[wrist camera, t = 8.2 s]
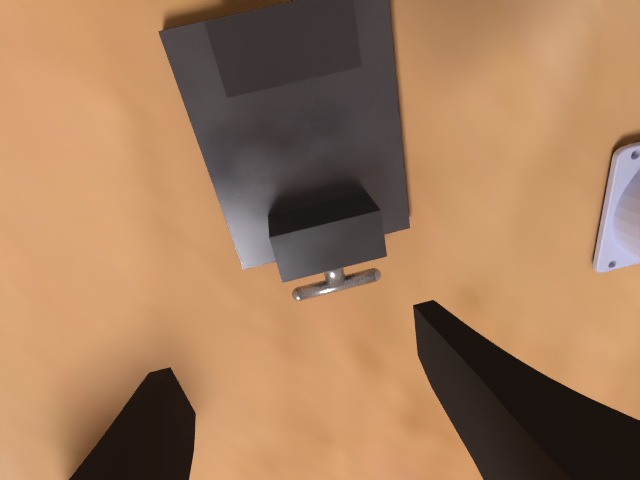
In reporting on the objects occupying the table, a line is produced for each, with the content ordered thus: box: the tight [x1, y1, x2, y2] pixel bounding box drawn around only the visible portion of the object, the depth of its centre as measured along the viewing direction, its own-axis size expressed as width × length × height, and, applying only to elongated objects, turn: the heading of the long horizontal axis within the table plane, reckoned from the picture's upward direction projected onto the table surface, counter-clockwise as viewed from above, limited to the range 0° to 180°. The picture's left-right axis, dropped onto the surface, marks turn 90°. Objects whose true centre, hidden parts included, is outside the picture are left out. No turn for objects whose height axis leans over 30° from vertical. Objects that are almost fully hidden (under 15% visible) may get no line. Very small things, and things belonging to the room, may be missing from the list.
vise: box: [158, 0, 410, 301], centre depth 17 cm, size 9×13×3 cm
